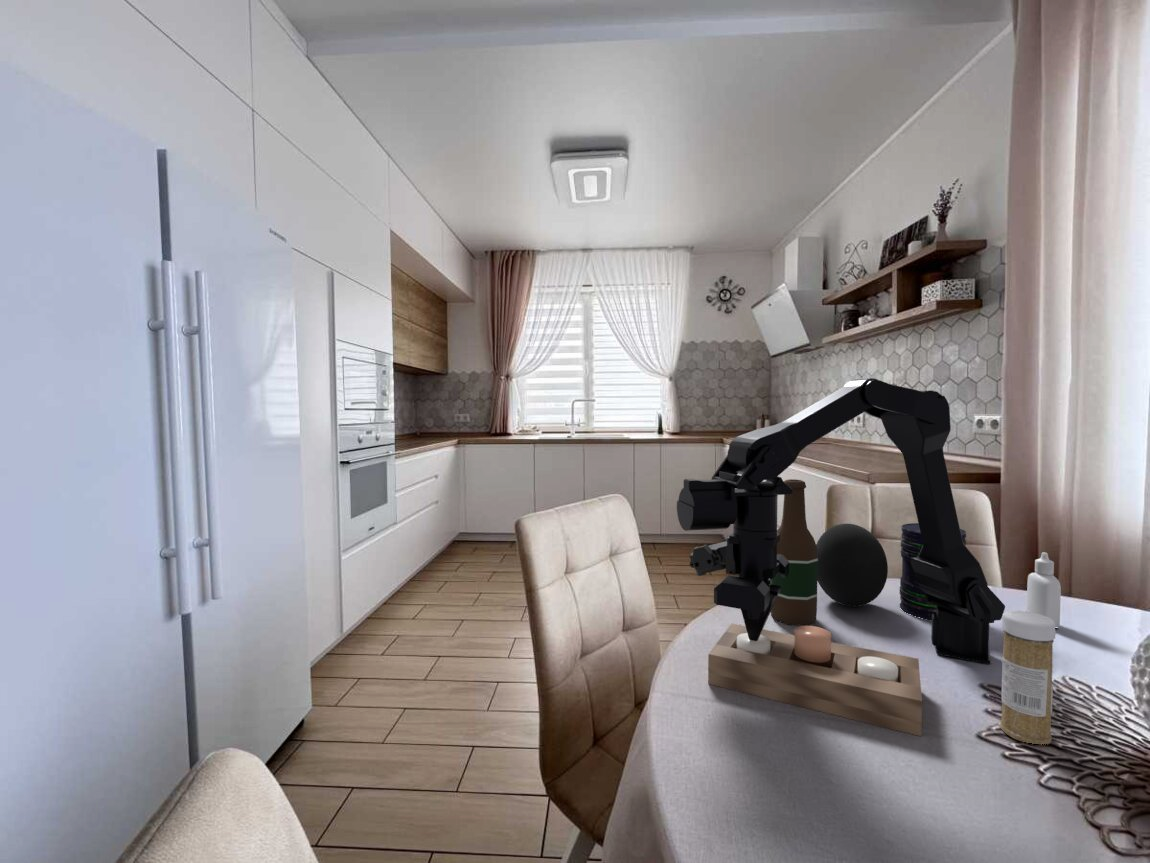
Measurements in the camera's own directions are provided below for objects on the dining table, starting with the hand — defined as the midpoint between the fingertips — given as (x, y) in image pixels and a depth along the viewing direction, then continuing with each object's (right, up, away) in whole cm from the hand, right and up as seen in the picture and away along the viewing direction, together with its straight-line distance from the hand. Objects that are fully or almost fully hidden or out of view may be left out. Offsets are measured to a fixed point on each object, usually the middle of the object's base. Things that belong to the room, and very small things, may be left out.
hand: (753, 639), depth 77 cm
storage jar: (+39, -4, +23) cm, 45 cm away
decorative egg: (+26, -4, +27) cm, 38 cm away
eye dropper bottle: (+54, -4, +17) cm, 57 cm away
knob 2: (+13, -3, -7) cm, 15 cm away
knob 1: (0, -3, 0) cm, 3 cm away
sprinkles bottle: (+26, -5, -14) cm, 30 cm away
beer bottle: (+13, -4, +20) cm, 25 cm away
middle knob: (+6, -1, -4) cm, 8 cm away
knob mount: (+6, -5, -3) cm, 9 cm away
